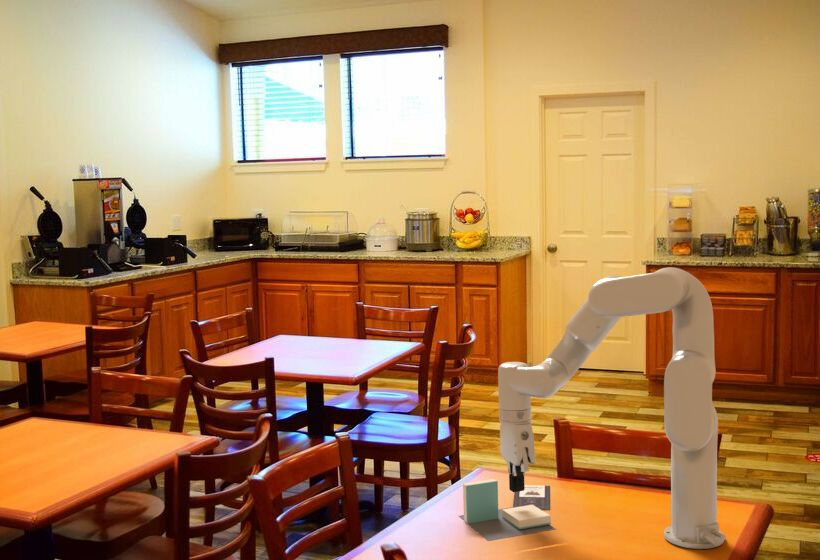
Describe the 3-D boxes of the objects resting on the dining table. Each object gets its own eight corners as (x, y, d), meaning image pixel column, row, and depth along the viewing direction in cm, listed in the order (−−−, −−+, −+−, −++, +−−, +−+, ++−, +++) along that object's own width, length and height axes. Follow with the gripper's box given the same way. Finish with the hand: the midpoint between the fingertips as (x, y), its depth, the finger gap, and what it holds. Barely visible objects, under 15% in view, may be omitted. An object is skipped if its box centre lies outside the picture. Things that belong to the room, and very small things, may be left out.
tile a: (532, 512, 212) (550, 524, 203) (502, 517, 209) (519, 529, 200) (532, 504, 212) (550, 515, 203) (502, 509, 209) (519, 520, 200)
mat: (556, 530, 201) (556, 528, 201) (488, 542, 195) (488, 540, 195) (522, 507, 217) (522, 505, 217) (458, 517, 211) (458, 515, 211)
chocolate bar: (512, 508, 215) (515, 484, 232) (512, 512, 215) (515, 488, 232) (550, 509, 213) (549, 485, 231) (550, 513, 213) (549, 489, 231)
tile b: (498, 518, 209) (497, 481, 208) (467, 523, 206) (466, 485, 205) (494, 515, 211) (493, 478, 210) (464, 520, 208) (462, 483, 207)
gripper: (544, 420, 203) (545, 497, 204) (515, 406, 217) (517, 479, 218) (514, 423, 200) (516, 502, 202) (487, 409, 214) (489, 483, 216)
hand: (516, 490), depth 210 cm, fingers closed
